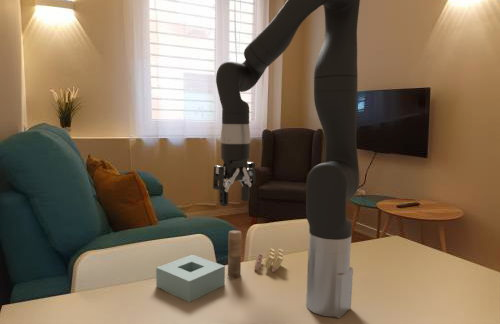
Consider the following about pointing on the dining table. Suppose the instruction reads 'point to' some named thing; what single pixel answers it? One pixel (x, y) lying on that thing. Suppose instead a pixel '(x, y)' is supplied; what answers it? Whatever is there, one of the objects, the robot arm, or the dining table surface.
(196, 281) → the socket block
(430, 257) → the dining table surface
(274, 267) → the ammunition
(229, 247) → the peg
